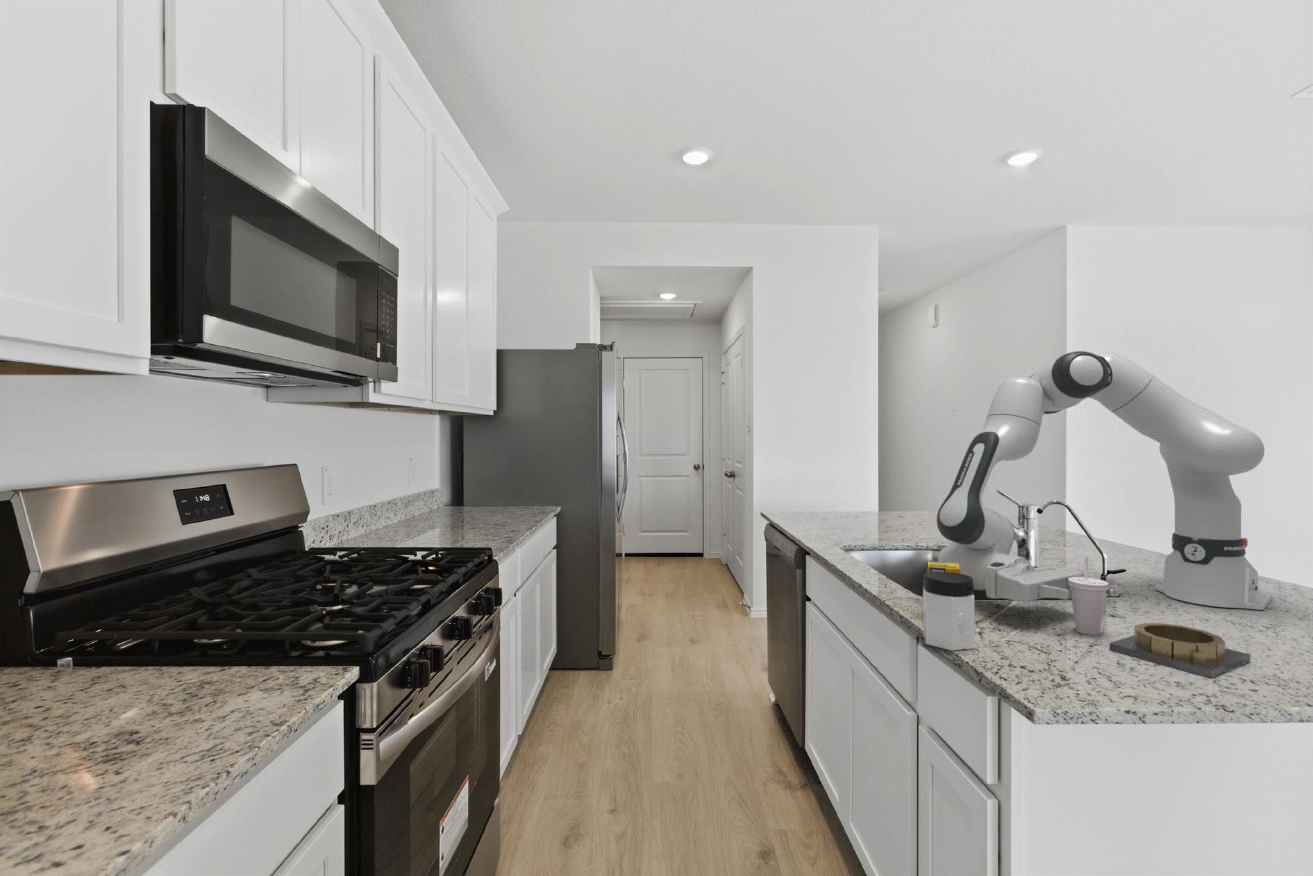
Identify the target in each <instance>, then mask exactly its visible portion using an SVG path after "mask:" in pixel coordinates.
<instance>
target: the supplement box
mask: <svg viewBox="0 0 1313 876" xmlns="http://www.w3.org/2000/svg"><path fill="white" fill-rule="evenodd" d="M926 563H927V564H926V565H927V572H926V573H928V572H953V573H960V568H959V565H958V563H945V562H938V561H932V560H927V562H926Z"/></svg>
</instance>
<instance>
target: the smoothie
mask: <svg viewBox="0 0 1313 876" xmlns="http://www.w3.org/2000/svg"><path fill="white" fill-rule="evenodd" d="M1109 584H1110V583H1109V582H1107V581H1106V580H1102V579H1099V578H1093V577H1089V557H1087V556H1085V557H1084V577H1071V578H1069V579H1068V585H1070V590H1071V591H1072V594H1071V595H1072V598H1071V602H1072V603H1071V604H1072V605H1071V606H1072V610H1073V611H1072V612H1073V618H1074V625H1075V630H1076V632H1077V631H1078V632H1077V633H1080V634H1083V635H1089V636H1099V635H1100V634H1101V629H1102V628H1101V627H1102V622H1103V615H1104V609H1105V602H1106V598H1107V591H1108V590H1109V589H1110V587H1109Z"/></svg>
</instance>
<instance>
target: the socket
mask: <svg viewBox="0 0 1313 876" xmlns="http://www.w3.org/2000/svg"><path fill="white" fill-rule="evenodd" d="M1108 647H1109V649H1108V650H1109V651H1113V652H1116V653H1120V654H1123V655H1126V656H1130V657H1134V658H1138V659H1140V660H1144V661H1146V662H1147V661H1148V662H1152V663H1155V664H1159V665H1162V666H1165V665H1167V666H1166V667H1169V668H1172V667H1173V668H1172V669H1177V670H1179V669H1180V671H1183V670H1184V671H1183V672H1187V673H1190V672H1192V673H1191V674H1194V673H1196V674H1195V675H1197V674H1201V675H1204V676H1208V677H1211V678H1210V679H1213V678H1214V677H1213V676H1216V677H1218V676H1219V675H1218V674H1220V675H1222V674H1221V673H1222V672H1225V671H1227V670H1229V669H1232V668H1234V667H1237V666H1239V665H1241V664H1243V663H1246V662H1248V661H1250V662H1251V654H1250V653H1247V652H1242V651H1238V650H1233V649H1229V648H1226V641H1225V640H1224V639H1223V638H1222V637H1221V636H1218V635H1217V634H1213V633H1211V632H1209V631H1206V630H1202V629H1197V628H1195V627H1194V628H1193V627H1188V626H1185V625H1179V624H1170V623H1169V624H1168V623H1161V622H1144V623H1143V622H1142V623H1139V624H1135V625H1134V634H1133V635H1130V636H1127V637H1124V638H1121V639H1118V640H1115V641H1111V642H1109V646H1108ZM1248 663H1249V662H1248ZM1246 664H1247V663H1246ZM1243 665H1244V664H1243ZM1241 666H1242V665H1241ZM1239 667H1240V666H1239ZM1237 668H1238V667H1237ZM1234 669H1235V668H1234ZM1232 670H1233V669H1232ZM1227 672H1228V671H1227ZM1225 673H1226V672H1225ZM1201 675H1200V676H1201ZM1217 675H1218V676H1217ZM1204 676H1203V677H1204ZM1208 677H1207V678H1208ZM1212 677H1213V678H1212Z"/></svg>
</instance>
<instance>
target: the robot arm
mask: <svg viewBox="0 0 1313 876" xmlns="http://www.w3.org/2000/svg"><path fill="white" fill-rule="evenodd" d="M1087 398H1089V399H1093V400H1095V401H1097V402H1098V403H1100V405H1102V406H1103V407H1105V408H1106V409H1107V410H1108V411H1109V412H1111V413H1112V414H1114V415H1115V416H1116V417H1118V418H1119V419H1121V420H1122V421H1123V423H1126V424H1127V425H1128V426H1129V427H1131V428H1133V430H1135V431H1137V433H1139V434H1141V435H1143V436H1146V438H1147V437H1148V438H1150V439H1151V440H1153V441H1155V442H1157V443H1159V447H1158V448H1159V453H1160V455H1161V458H1162V459H1163V460H1164V462H1165V464H1166V468H1167V471H1168V476H1169V480H1170V484H1171V488H1172V492H1173V499H1174V532H1173V533H1172V537H1171V548H1172V549H1173V550H1172V552H1171V553H1169V554H1167V555H1166V556H1164V564H1163V577H1162V584H1156V586H1155V591H1157V590H1158V591H1157V592H1160V593H1163V594H1165V595H1166V596H1167V597H1168V598H1171V599H1175V600H1178V601H1182V602H1187V603H1191V604H1197V605H1202V606H1209V607H1217V608H1219V607H1220V608H1230V609H1248V610H1258V611H1261V610H1262V611H1263V610H1265V608H1266V607H1267V606H1268V605H1269V603H1270V602H1271V601H1272V600H1273V595H1272V593H1271V592H1270V593H1269V592H1266V591H1262V590H1259V572H1258V571H1257V569H1256V568H1255V567H1254V566H1253V565H1252V564H1251V562H1250V561H1249V560H1248V559H1247V557H1246V556H1245V555H1246V554H1247V553H1246V548H1247V547H1248V544H1249V541H1248V538H1247V537H1242V502H1241V499H1239V497H1238V496H1237V494H1236V493H1235V490H1234V487H1233V486H1232V482H1231V479H1230V476H1236V475H1239V474H1244V473H1248V472H1249V471H1252V470H1253V469H1255V468H1256V467H1258V466H1259V464H1261V462H1262V461H1263V459H1264V457H1265V445H1264V443H1263V441H1262V439H1261V438H1260V437H1259V436H1258V434H1256V433H1255V432H1253V431H1251V430H1249V429H1246V428H1244V427H1241V426H1239V425H1237V424H1235V423H1233V422H1232V421H1230V420H1228V419H1226V418H1224V417H1222V416H1221V415H1219V414H1217V413H1215V412H1213V411H1211V410H1209V409H1208V408H1206V407H1204V406H1201V405H1199V404H1198V403H1195V402H1194V401H1192V400H1191V399H1188V398H1187V397H1185V396H1184V395H1182V394H1181V393H1179V392H1177V391H1176V390H1175V389H1173V388H1171V386H1169V385H1167V384H1166V383H1165V382H1163V381H1162V380H1161V379H1159V378H1157V377H1156V376H1155V375H1153V374H1152V373H1151V372H1149V371H1147V370H1146V369H1145V368H1143V367H1141V366H1140V365H1138V364H1136V363H1134V362H1133V361H1131V360H1129V359H1127V358H1125V357H1123V356H1120V355H1119V354H1116V353H1113V352H1105V353H1101V354H1094V353H1093V352H1090V351H1084V350H1075V351H1072V352H1068V353H1064V354H1063V355H1061V356H1059V357H1058V358H1056V359H1054V360H1051V361H1050V362H1048V363H1046V364H1044V365H1043V366H1042V367H1041V368H1040V369H1039V370H1038V371H1037V372H1034V373H1033V374H1031V375H1030V376H1029V377H1024V376H1013V377H1009V378H1007V379H1005V380H1004V381H1002V382H1001V383H1000V384H999V386H998V387H997V390H996V392H995V394H994V395H993V398H992V401H991V403H990V406H989V409H988V411H987V414H986V415H987V416H986V419H985V422H984V425H983V428H982V430H981V431H980V433H978V434H976V436H975V437H974V438H973V439H972V441H971V442H970V444H969V446H968V448H967V450H966V452H965V455H964V457H963V459H962V462H961V464H960V466H959V469H958V472H957V475H956V477H955V478H954V482H953V484H952V486H951V488H950V491H949V493H948V494H947V496H946V498H945V499H944V500H943V501H942V504H941V505H940V507H938V511H937V515H936V526H937V529H938V531H939V533H940V534H941V535H942V537H943V538H945V539H946V540H948V541H950V542H951V543H950V544H948V545H947V546H945V547H943V548H941V550H939V552H938V555H937V562H945V563H958V565H959V568H960V574H964V575H967V576H970V577H972V578H973V584H974V589H973V591H974V590H975V591H985V592H986V593H985V594H986V597H987V598H989V599H995V600H996V599H997V600H998V599H1005V600H1010V601H1017V602H1032V601H1036V600H1039V599H1044V598H1046V599H1048V598H1049V599H1060V600H1064V601H1065V600H1069V599H1072V595H1071V594H1072V591H1071V590H1070V585H1068V579H1069V578H1071V577H1085V572H1084V571H1081V570H1077V569H1072V568H1066V567H1059V566H1051V565H1049V566H1047V565H1046V566H1039V567H1034V566H1033V565H1031V564H1030V562H1029V561H1028V559H1027V558H1026V557H1022V556H1017V555H1013V554H1010V552H1011V550H1012V546H1013V544H1014V541H1015V535H1016V534H1015V533H1016V532H1015V528H1014V525H1013V523H1012V522H1011V521H1010V520H1009V519H1008V518H1007V517H1005V516H1003V515H1002V514H1000V513H999V512H996V511H995V510H992V509H990V508H988V507H986V506H985V505H984V504H983V499H982V498H983V494H984V492H985V489H986V487H987V484H988V482H989V479H990V476H991V473H992V471H993V468H994V467H995V466H996V465H997V464H998V463H999V462H1003V461H1006V462H1008V461H1010V462H1011V461H1012V462H1013V461H1016V460H1020V459H1022V458H1023V459H1024V457H1027V456H1028V455H1030V454H1031V453H1032V452H1033V450H1034V449H1035V447H1036V444H1037V443H1038V439H1039V435H1040V431H1041V427H1042V422H1043V417H1044V415H1050V414H1056V413H1059V412H1061V411H1064V410H1066V409H1069V408H1071V407H1074V406H1076V405H1078V404H1080V403H1081V402H1082V401H1084V400H1086V399H1087Z"/></svg>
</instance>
